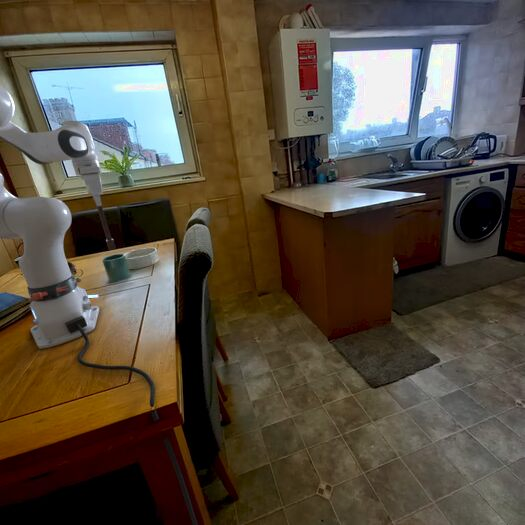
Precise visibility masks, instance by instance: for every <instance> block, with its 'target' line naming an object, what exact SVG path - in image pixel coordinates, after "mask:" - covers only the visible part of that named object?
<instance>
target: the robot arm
mask: <svg viewBox="0 0 525 525" xmlns="http://www.w3.org/2000/svg"><path fill="white" fill-rule="evenodd" d="M14 115H15V103H14V99H13V98H12V96H11V94H10V92H9V91H8V90H6V88H5V87H4V86H2V85H1V84H0V140H1V141H4V142H5V143H7V144H9V145H10V146H12V147H13V148H15V149H17V150H18V151H20V152H21V153H22V154H23V155H24V156H26V157H27V158H28V159H29V160H30V161H31V162H33V163H35V164H38V165H42V166H43V165H44V166H45V165H48V164H53V163H57V162H65V161H70V160H71V163H72V167H73V170H74V172H75V173H74V174H75V175H76V176H80V179H81V180H84V184H85V187H86V190H87V194H88V195H91V196H92V199H93V201H94V204H95V206H96V207H97V206H102V205H103V204H102V200H101V195H103V193H104V190H103V183H102V178H101V174H102V173H103V170H102V167H101V163H100V160H99V158H98V156H97V154H96V146H95V143H94V140H93V136H92V134H91V132H90V129H89V127H88V125H86V124H85V123H83V122H81V121H76V120H75V121H74V120H67V121H64V122H62V123H61V124H62V125H61V126H60V127H59V128H56V129H54V130H48V131H42V132H41V131H40V132H29V131H26V130H24V129H22V127H20V126H18V125H16V124H15V123H14V122H12V119H13V117H14ZM4 184H5V179H4V176H3V174H2V173H1V172H0V239H4V240H17V239H22V242H23V254H22V255H21V257H20V258H19V260H18V267H19V269H20V271H21V273H22V276H23V278H24V280H25V283H26V284H27V293H28V295H29V297H30V300H31V302H30V304H28V306H29V308H30V310H31V313H32V315H33V317H34V319H33V320H32V323H33V325H34V326H32V327H30V333H31V335H32V337H33V340H34V342H35V344H36V346H37V348H38V349H39V350H43V349H48V348H53V347H56V346H60V345H63V344H65V343H68V342H70V341H71V342H72V341H73V340H75V339H78V338H81V337H83V339H84V341H85V345H84V347H83V349H82V350H81V351H80V353H79V354H78V356H77V361H78V363H79V364H80V365H82V366H83V367H86V368H92V369H98V370H99V369H100V370H106V371H107V370H108V371H109V370H112V371H113V370H114V371H115V370H116V371H117V370H119V371H120V370H123V371H124V370H125V371H129V372H133V373H136V374H138V375H140V376H141V377H143V378H144V379H145V380H146V382H147V383H148V385H149V387H150V395H149V396H150V397H149V407H150V406H151V407H153V406H154V402H155V397H156V386H155V385H156V384H155V383H154V381H153V379H152V377H151V376H150V375H148V373H146V372H145V371H143V370H142V369H139V368H137V367H134V366H130V365H104V364H97V363H90V362H87V361H85V360H84V359H83V356H84V354H86V352H87V350H88V349H89V346H90V339H89V336H88V333H89V334H90V333H91V332H92V331H94V330H95V329H96V326H97V322H98V317H99V313H100V310H101V308H100V307H99V306H98V305H94V306H93V305H92V303H91V301H90V298H92V299H93V298H99V294H91V295H88V293H87V291H86V289H85V288H82V287H80V286H78V283H77V278H76V277H75V276H74V274H73V273H72V274H71V272H70V269H69V266H68V263H67V262H68V260H67V258H66V255H65V254H66V253H65V250H64V249H65V248H64V239H65V235H66V233H67V231H68V229H69V228H71V225H72V222H73V221H72V220H73V219H72V218H73V217H72V216H73V215H72V213H71V210H70V209H69V207H68V206H67V204H66V203H65V202H64V201H62V200H60V199H57V198H53V197H46V196H31V197H22V198H20V197H17V196H15V195H13V194H12V193H11V192H9V191H8V190H7V188H6V187H5V186H4ZM102 207H103V206H102ZM154 386H155V387H154ZM150 413H151V417H152V420H153V421H154V422H157V421H158V420H159V415H158V413H157V409H156V408H155V412H151V411H150ZM163 443H164V445H165V448H166V450H167V452H168V455H169V458H170V461H171V464H172V465H173V466H172V467H173V468H174V471H175V474H176V477H177V480H178V482H179V486H180V489H181V491H182V494H183V498H184V501H185V504H186V507H187V510H188V513H189V514H188V515H189V517H190V520H191V523H192V525H199V524H198V521H197V518H196V515H195V512H194V509H193V505H192V503H191V499H190V496H189V492H188V489H187V486H186V483H185V480H184V477H183V474H182V470H181V468H180V465H179V462H178V460H177V457H176V454H175V453H174V449H173V447H172V444H171V441H170V439H169V437H167V438H166V439H163Z"/></svg>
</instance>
